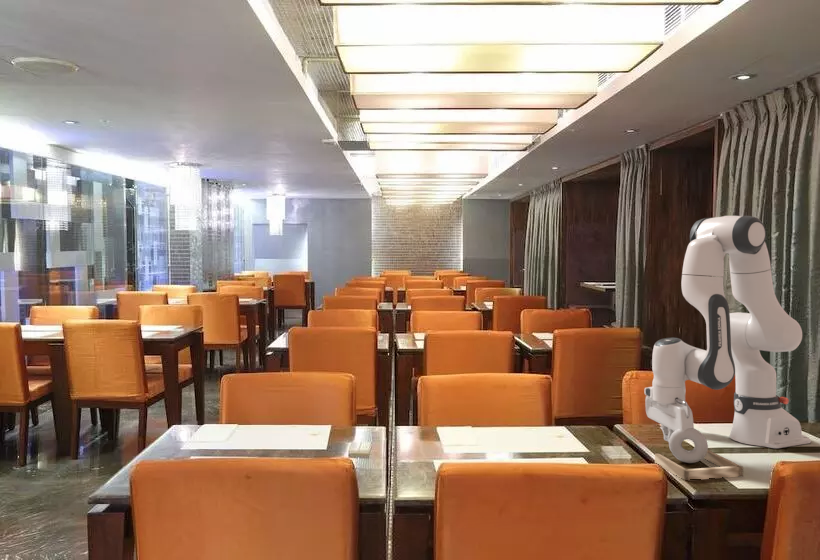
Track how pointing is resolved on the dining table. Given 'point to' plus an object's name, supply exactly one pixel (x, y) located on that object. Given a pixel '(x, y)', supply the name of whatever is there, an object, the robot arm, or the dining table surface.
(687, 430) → the donut
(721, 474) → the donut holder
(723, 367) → the robot arm
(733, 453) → the dining table surface
